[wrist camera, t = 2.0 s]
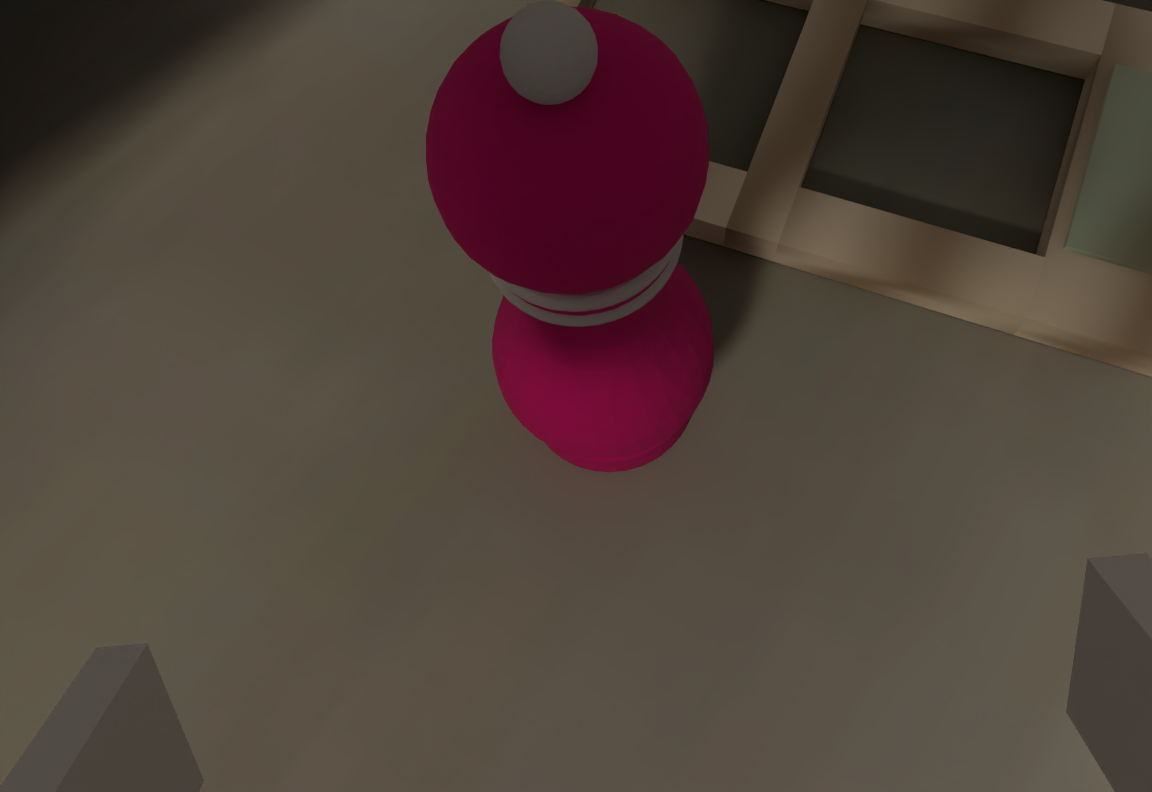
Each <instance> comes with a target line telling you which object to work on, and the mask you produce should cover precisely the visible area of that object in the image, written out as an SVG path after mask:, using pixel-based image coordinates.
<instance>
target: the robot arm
mask: <svg viewBox="0 0 1152 792" xmlns="http://www.w3.org/2000/svg"><path fill="white" fill-rule="evenodd" d="M1066 712H1067V714H1068V715H1069V717H1070V719H1071V720H1072V722H1073V724H1074V725H1075V727H1076V729H1077V730H1078V732H1079V734H1080V735H1081V737H1082V738H1083V740H1084V742H1085V743H1086V745H1087V747H1088V748H1089V750H1090V752H1091V753H1092V755H1093V756H1094V758H1095V760H1096V761H1097V763H1098V765H1099V766H1100V768H1101V770H1102V771H1103V773H1104V774H1105V776H1106V778H1107V779H1108V781H1109V783H1110V784H1111V786H1112V788H1113V789H1114V791H1115V792H1152V559H1151V558H1150V557H1149V556H1148V555H1147V554H1135V555H1124V556H1113V557H1102V558H1091V559H1087V566H1086V574H1085V581H1084V588H1083V595H1082V602H1081V610H1080V617H1079V624H1078V631H1077V638H1076V646H1075V653H1074V660H1073V667H1072V674H1071V681H1070V689H1069V696H1068V703H1067V710H1066ZM203 782H204V780H203V777H202V775H201V772H200V770H199V767H198V765H197V763H196V760H195V758H194V755H193V753H192V751H191V748H190V746H189V743H188V741H187V738H186V736H185V734H184V731H183V729H182V726H181V724H180V721H179V719H178V717H177V714H176V712H175V709H174V707H173V705H172V702H171V700H170V697H169V695H168V692H167V690H166V688H165V685H164V683H163V680H162V678H161V676H160V673H159V671H158V668H157V666H156V663H155V661H154V659H153V656H152V654H151V651H150V649H149V646H148V644H137V645H126V646H115V647H104V648H96V649H95V651H94V652H93V654H92V655H91V656H90V658H89V659H88V661H87V662H86V664H85V665H84V667H83V668H82V669H81V671H80V672H79V674H78V675H77V677H76V678H75V680H74V681H73V682H72V684H71V685H70V687H69V688H68V690H67V691H66V693H65V694H64V696H63V697H62V698H61V700H60V701H59V703H58V704H57V706H56V707H55V709H54V710H53V711H52V713H51V714H50V716H49V717H48V719H47V720H46V722H45V723H44V724H43V726H42V727H41V729H40V730H39V732H38V733H37V735H36V736H35V738H34V739H33V740H32V742H31V743H30V745H29V746H28V748H27V749H26V751H25V752H24V753H23V755H22V756H21V758H20V759H19V761H18V762H17V764H16V765H15V766H14V768H13V769H12V771H11V772H10V774H9V775H8V777H7V778H6V780H5V781H4V782H3V784H2V785H1V787H0V792H199V790H200V788H201V786H202V784H203Z"/></svg>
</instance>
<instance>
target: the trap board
mask: <svg viewBox="0 0 1152 792" xmlns="http://www.w3.org/2000/svg"><path fill="white" fill-rule="evenodd" d="M766 1H770V2H774V3H778V4H782V5H786V6H790V7H794V8H798V9H802V10H806V11H809V13H808V16H807V19H806V21H805V24H804V26H803V29H802V32H801V34H800V37H799V39H798V42H797V45H796V47H795V50H794V52H793V55H792V58H791V60H790V63H789V65H788V68H787V71H786V73H785V76H784V78H783V81H782V84H781V86H780V89H779V91H778V94H777V96H776V99H775V102H774V104H773V107H772V109H771V112H770V115H769V117H768V120H767V122H766V125H765V128H764V130H763V133H762V135H761V138H760V141H759V143H758V146H757V148H756V151H755V154H754V156H753V159H752V161H751V164H750V167H749V169H748V172H746V171H743V170H739V169H736V168H732V167H729V166H725V165H722V164H718V163H715V162H711V161H709V167H708V173H707V179H706V185H705V188H704V191H703V193H702V196H701V199H700V202H699V205H698V208H697V211H696V213H695V216H694V219H693V221H692V223H691V224H690V225H689V227H688V228H687V230H686V231H685V232H684V235H688V236H691V237H694V238H697V239H701V240H704V241H707V242H711V243H714V244H717V245H720V246H724V247H727V248H730V249H733V250H737V251H740V252H743V253H747V254H750V255H753V256H756V257H760V258H763V259H766V260H770V261H773V262H776V263H779V264H783V265H786V266H789V267H793V268H796V269H799V270H802V271H806V272H809V273H812V274H815V275H819V276H822V277H825V278H829V279H832V280H835V281H838V282H842V283H845V284H848V285H852V286H855V287H858V288H861V289H865V290H868V291H871V292H874V293H878V294H881V295H884V296H888V297H891V298H894V299H897V300H901V301H904V302H907V303H911V304H914V305H917V306H920V307H924V308H927V309H930V310H933V311H937V312H940V313H943V314H947V315H950V316H953V317H956V318H960V319H963V320H966V321H970V322H973V323H976V324H979V325H983V326H986V327H989V328H993V329H996V330H999V331H1002V332H1006V333H1009V334H1012V335H1015V336H1019V337H1022V338H1025V339H1029V340H1032V341H1035V342H1038V343H1042V344H1045V345H1048V346H1052V347H1055V348H1058V349H1061V350H1065V351H1068V352H1071V353H1074V354H1078V355H1081V356H1084V357H1088V358H1091V359H1094V360H1097V361H1101V362H1104V363H1107V364H1111V365H1114V366H1117V367H1120V368H1124V369H1127V370H1130V371H1133V372H1137V373H1140V374H1143V375H1147V376H1150V377H1152V12H1150V11H1146V10H1142V9H1138V8H1133V7H1129V6H1125V5H1120V4H1116V3H1112V2H1107V1H1103V0H766ZM556 2H562V3H565V4H567V5H569V6H572V7H583V8H592V6H593V4H594V2H595V0H556ZM860 24H862V25H866V26H870V27H874V28H878V29H882V30H886V31H890V32H894V33H898V34H902V35H906V36H910V37H914V38H918V39H922V40H926V41H930V42H935V43H939V44H943V45H947V46H951V47H955V48H959V49H963V50H967V51H971V52H975V53H979V54H983V55H987V56H991V57H995V58H999V59H1003V60H1007V61H1011V62H1015V63H1019V64H1023V65H1027V66H1031V67H1035V68H1039V69H1043V70H1047V71H1051V72H1055V73H1059V74H1063V75H1067V76H1071V77H1075V78H1079V79H1083V80H1085V81H1084V85H1083V89H1082V92H1081V96H1080V99H1079V103H1078V106H1077V110H1076V113H1075V117H1074V120H1073V124H1072V128H1071V131H1070V135H1069V138H1068V142H1067V145H1066V149H1065V152H1064V156H1063V159H1062V163H1061V167H1060V170H1059V174H1058V177H1057V181H1056V184H1055V188H1054V191H1053V195H1052V198H1051V202H1050V206H1049V209H1048V213H1047V216H1046V220H1045V223H1044V227H1043V230H1042V234H1041V237H1040V241H1039V245H1038V248H1037V252H1036V255H1035V254H1032V253H1028V252H1025V251H1021V250H1018V249H1014V248H1011V247H1007V246H1004V245H1000V244H997V243H993V242H990V241H986V240H983V239H979V238H976V237H972V236H969V235H965V234H962V233H959V232H955V231H952V230H948V229H945V228H941V227H938V226H934V225H931V224H927V223H924V222H920V221H917V220H913V219H910V218H906V217H903V216H899V215H896V214H892V213H889V212H885V211H882V210H878V209H875V208H871V207H868V206H864V205H861V204H858V203H854V202H851V201H847V200H844V199H840V198H837V197H833V196H830V195H826V194H823V193H819V192H816V191H812V190H809V189H805V188H802V187H801V186H802V183H803V180H804V178H805V175H806V172H807V169H808V167H809V164H810V161H811V158H812V156H813V153H814V150H815V147H816V145H817V142H818V139H819V137H820V134H821V131H822V128H823V126H824V123H825V120H826V117H827V115H828V112H829V109H830V106H831V104H832V101H833V98H834V96H835V93H836V90H837V87H838V85H839V82H840V79H841V76H842V74H843V71H844V68H845V65H846V63H847V60H848V57H849V54H850V52H851V49H852V46H853V44H854V41H855V38H856V35H857V33H858V30H859V27H860Z"/></svg>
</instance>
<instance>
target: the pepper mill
mask: <svg viewBox="0 0 1152 792" xmlns="http://www.w3.org/2000/svg"><path fill="white" fill-rule="evenodd" d="M426 164H427V172H428V180H429V185H430V188H431V191H432V195H433V198H434V201H435V203H436V205H437V208H438V210H439V212H440V214H441V216H442V218H443V220H444V222H445V225H446V227H447V228H448V230H449V232H450V233H451V235H452V236H453V238H454V239H455V241H456V242H457V243H458V244H459V245H460V246H461V248H462V249H463V250H464V251H465V252H466V253H467V255H468V256H469V257H470V258H471V259H473V260H474V261H475V262H477V263H478V264H479V265H481V266H482V267H483V268H485V269H486V270H487V271H488V272H489V274H490V276H491V278H492V279H493V281H494V283H495V284H496V286H497V288H498V289H499V291H500V292H501V293H502V294H503V295H504V296H503V299H502V301H501V304H500V307H499V310H498V313H497V317H496V320H495V326H494V332H493V339H492V355H493V361H494V367H495V372H496V376H497V379H498V383H499V386H500V389H501V391H502V394H503V396H504V399H505V401H506V402H507V404H508V406H509V408H510V409H511V411H512V413H513V414H514V415H515V416H516V418H517V419H518V420H519V421H520V422H521V424H522V425H523V426H524V427H526V428H527V429H528V430H529V431H530V432H531V433H532V434H534V435H535V436H536V437H537V438H539V439H540V440H542V441H544V442H545V443H546V444H547V445H548V447H549V448H550V449H551V450H552V451H554V452H555V453H556V454H557V455H559V456H560V457H562V458H563V459H564V460H566V461H568V462H570V463H572V464H574V465H576V466H579V467H582V468H585V469H589V470H594V471H602V472H615V471H624V470H629V469H633V468H636V467H639V466H643V465H645V464H647V463H649V462H651V461H653V460H655V459H656V458H658V457H659V456H661V455H662V454H663V453H665V452H666V451H667V450H668V449H669V448H671V447H672V445H673V444H674V443H675V442H676V441H677V440H678V439H679V437H680V436H681V434H682V433H683V431H684V430H685V428H686V426H687V424H688V422H689V420H690V417H691V415H692V414H693V412H694V411H695V409H696V408H697V406H698V404H699V403H700V401H701V400H702V398H703V396H704V393H705V391H706V389H707V386H708V384H709V381H710V377H711V372H712V368H713V357H714V345H713V336H712V327H711V320H710V317H709V313H708V310H707V306H706V304H705V302H704V300H703V298H702V296H701V294H700V292H699V290H698V288H697V286H696V285H695V283H694V282H693V280H692V279H691V277H690V276H689V275H688V273H687V272H686V271H685V269H684V268H683V267H682V266H681V265H680V264H679V263H678V260H679V256H680V252H681V248H682V243H683V234H684V232H685V231H686V230H687V228H688V227H689V225H690V224H691V223H692V221H693V219H694V216H695V213H696V211H697V208H698V205H699V202H700V199H701V196H702V193H703V191H704V188H705V185H706V179H707V173H708V167H709V144H708V127H707V123H706V118H705V114H704V110H703V106H702V103H701V101H700V98H699V96H698V93H697V91H696V88H695V85H694V83H693V81H692V79H691V78H690V76H689V75H688V73H687V72H686V70H685V69H684V67H683V66H682V64H681V63H680V61H679V60H678V58H677V57H676V55H675V54H674V53H673V52H672V51H671V50H670V49H669V48H668V47H667V46H666V45H665V44H664V43H663V42H662V41H661V40H660V39H659V38H657V37H656V36H654V35H653V34H651V33H650V32H649V31H647V30H646V29H644V28H643V27H641V26H639V25H637V24H635V23H633V22H631V21H629V20H627V19H625V18H622V17H620V16H618V15H616V14H612V13H608V12H604V11H600V10H596V9H592V8H583V7H572V6H569V5H567V4H565V3H562V2H556V1H549V0H548V1H541V2H537V3H533V4H529V5H527V6H526V7H524V8H523V9H521V10H519V11H518V12H517V13H516V14H515V16H513V17H511V18H510V19H508V20H506V21H504V22H502V23H500V24H498V25H496V26H494V27H493V28H491V29H490V30H488V31H487V32H485V33H484V34H482V35H481V36H480V37H479V38H478V39H476V40H475V41H474V42H473V43H472V44H471V45H470V46H469V47H468V48H467V49H466V50H465V51H464V52H463V53H462V54H461V55H460V56H459V58H458V59H457V60H456V61H455V62H454V64H453V65H452V67H451V69H450V70H449V72H448V74H447V75H446V77H445V79H444V81H443V82H442V84H441V86H440V87H439V89H438V92H437V94H436V97H435V100H434V103H433V106H432V109H431V112H430V118H429V123H428V129H427V134H426Z"/></svg>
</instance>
